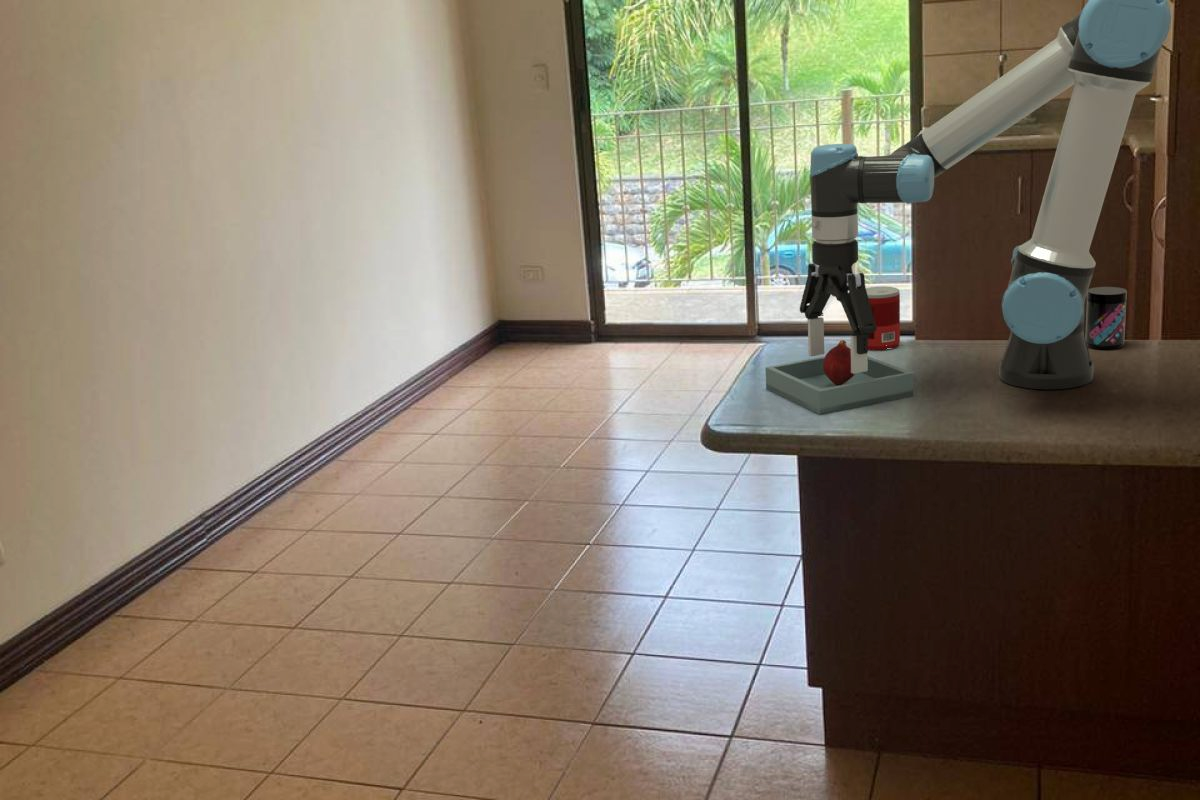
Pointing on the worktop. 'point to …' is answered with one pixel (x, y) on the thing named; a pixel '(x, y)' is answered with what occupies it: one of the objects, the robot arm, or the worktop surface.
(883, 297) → the canned food
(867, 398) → the bin
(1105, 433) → the worktop surface
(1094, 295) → the supplement container
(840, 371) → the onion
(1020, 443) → the worktop surface
